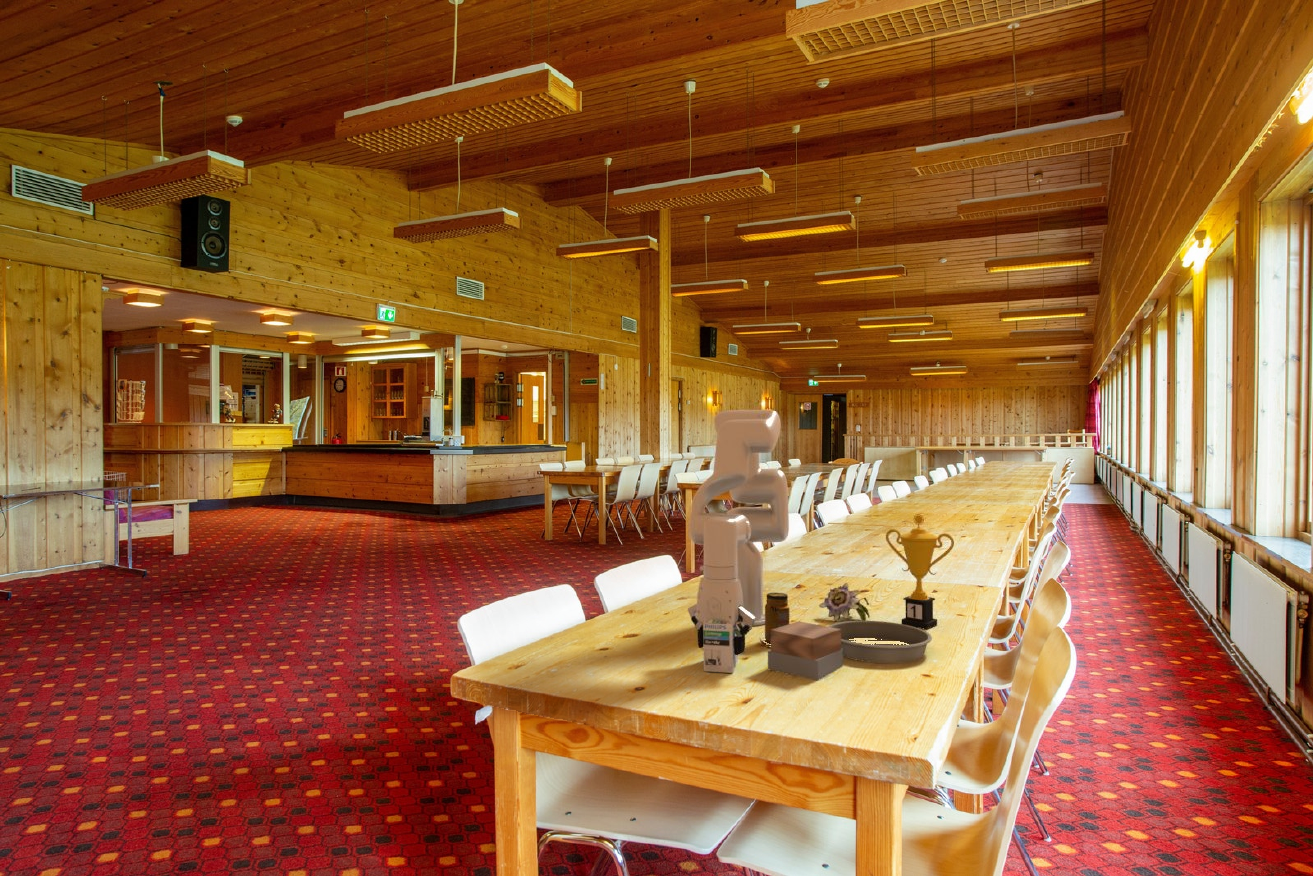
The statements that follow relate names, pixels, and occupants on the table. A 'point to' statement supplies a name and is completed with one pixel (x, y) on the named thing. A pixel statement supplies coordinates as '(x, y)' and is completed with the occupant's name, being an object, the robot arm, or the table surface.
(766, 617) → the condiment
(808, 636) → the walnut block
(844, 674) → the table surface
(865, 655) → the cake pan
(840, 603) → the passion flower
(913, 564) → the trophy
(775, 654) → the grey block
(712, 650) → the light bulb box
